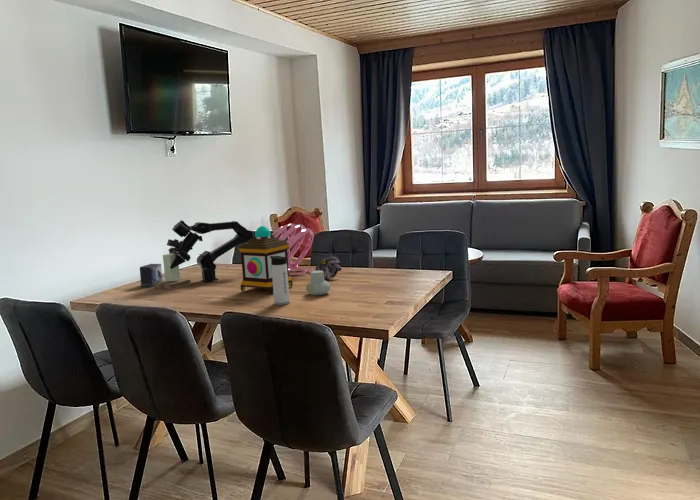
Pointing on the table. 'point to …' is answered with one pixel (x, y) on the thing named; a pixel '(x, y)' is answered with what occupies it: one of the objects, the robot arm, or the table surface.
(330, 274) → the decorative flower
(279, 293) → the travel mug
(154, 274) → the small box
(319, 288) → the air freshener
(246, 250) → the decorative lantern
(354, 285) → the table surface
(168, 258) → the sage block
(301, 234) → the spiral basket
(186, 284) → the block
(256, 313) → the table surface
